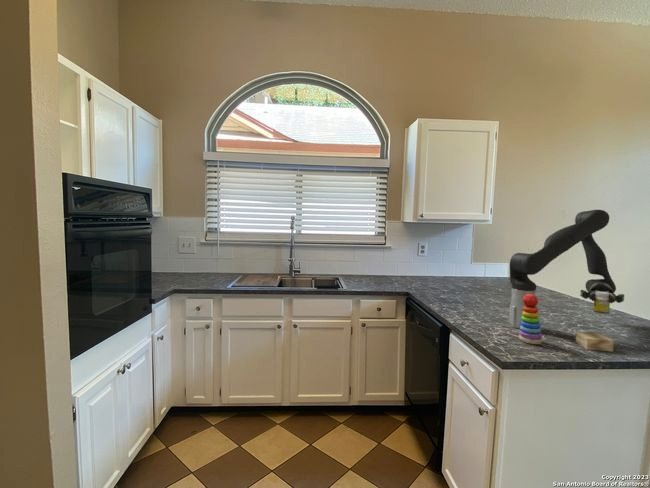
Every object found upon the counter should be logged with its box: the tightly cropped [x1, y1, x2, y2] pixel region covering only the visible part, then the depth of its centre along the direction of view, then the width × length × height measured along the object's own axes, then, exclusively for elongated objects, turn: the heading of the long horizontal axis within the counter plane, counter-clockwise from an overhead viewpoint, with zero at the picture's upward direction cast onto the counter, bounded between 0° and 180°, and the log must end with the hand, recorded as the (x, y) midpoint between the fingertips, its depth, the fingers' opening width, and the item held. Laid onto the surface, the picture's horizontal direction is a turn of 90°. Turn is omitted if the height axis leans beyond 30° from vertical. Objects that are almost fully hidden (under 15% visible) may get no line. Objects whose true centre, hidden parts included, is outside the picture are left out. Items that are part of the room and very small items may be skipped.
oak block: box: [575, 331, 615, 352], centre depth 118 cm, size 8×8×4 cm
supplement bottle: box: [593, 291, 611, 316], centre depth 123 cm, size 5×5×8 cm
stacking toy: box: [518, 294, 544, 345], centre depth 123 cm, size 8×8×19 cm
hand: (602, 299), depth 121 cm, fingers closed on supplement bottle, 4 cm apart
